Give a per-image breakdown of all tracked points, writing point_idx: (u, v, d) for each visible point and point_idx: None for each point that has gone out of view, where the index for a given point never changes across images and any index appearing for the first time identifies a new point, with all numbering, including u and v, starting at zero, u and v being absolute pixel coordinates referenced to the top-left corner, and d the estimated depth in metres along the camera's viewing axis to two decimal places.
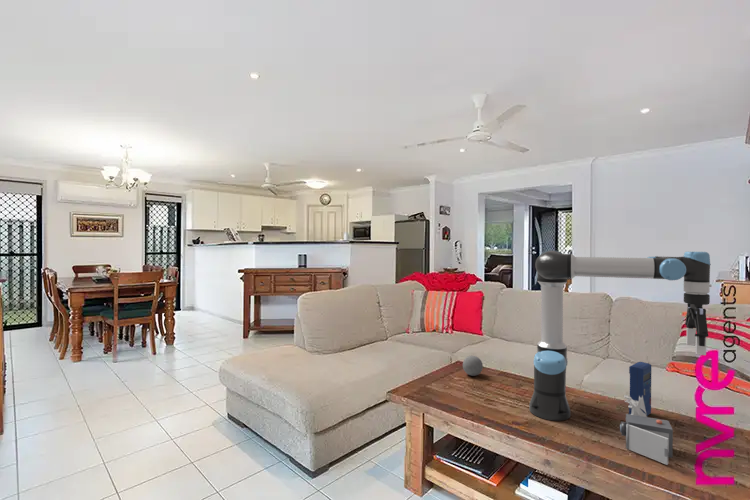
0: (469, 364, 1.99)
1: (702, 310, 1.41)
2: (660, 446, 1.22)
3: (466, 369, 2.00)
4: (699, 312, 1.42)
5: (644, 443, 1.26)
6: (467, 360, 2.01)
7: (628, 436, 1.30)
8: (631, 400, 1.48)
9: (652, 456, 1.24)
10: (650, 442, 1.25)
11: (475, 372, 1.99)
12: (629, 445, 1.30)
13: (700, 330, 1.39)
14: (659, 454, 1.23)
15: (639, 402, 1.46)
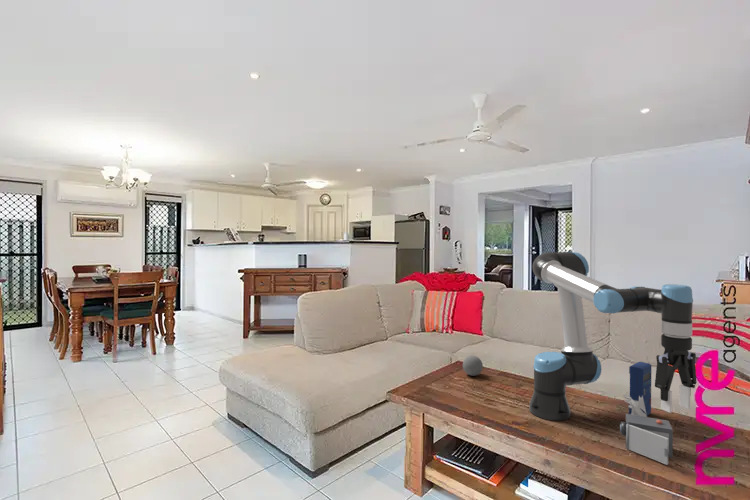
0: (469, 364, 1.99)
1: None
2: (660, 446, 1.22)
3: (466, 369, 2.00)
4: None
5: (644, 443, 1.26)
6: (467, 360, 2.01)
7: (628, 436, 1.30)
8: (631, 400, 1.48)
9: (652, 456, 1.24)
10: (650, 442, 1.25)
11: (475, 372, 1.99)
12: (629, 445, 1.30)
13: None
14: (659, 454, 1.23)
15: (639, 402, 1.46)
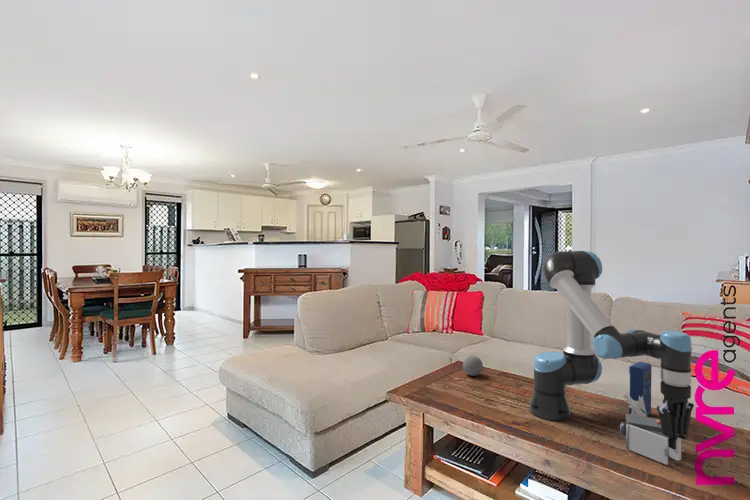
0: (469, 364, 1.99)
1: None
2: (660, 446, 1.22)
3: (466, 369, 2.00)
4: None
5: (644, 443, 1.26)
6: (467, 360, 2.01)
7: (628, 436, 1.30)
8: (631, 400, 1.48)
9: (652, 456, 1.24)
10: (650, 442, 1.25)
11: (475, 372, 1.99)
12: (629, 445, 1.30)
13: None
14: (659, 454, 1.23)
15: (639, 402, 1.46)
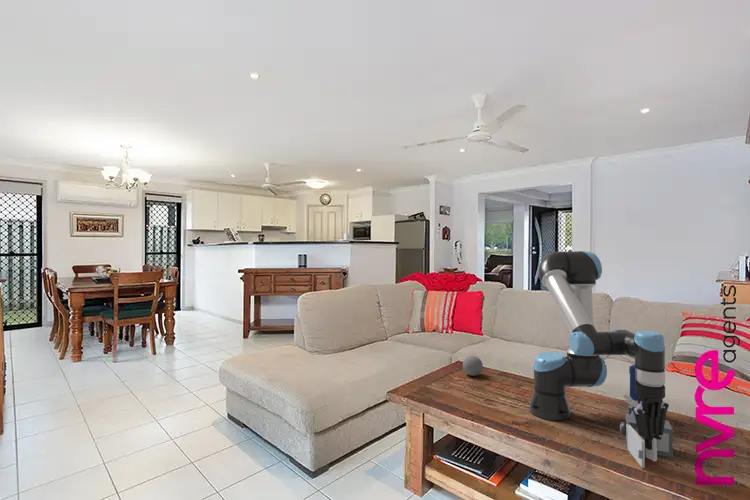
0: (469, 364, 1.99)
1: None
2: (639, 448, 1.21)
3: (466, 369, 2.00)
4: None
5: (633, 444, 1.26)
6: (467, 360, 2.01)
7: (626, 435, 1.30)
8: (631, 400, 1.48)
9: (636, 457, 1.24)
10: (635, 443, 1.24)
11: (475, 372, 1.99)
12: (627, 445, 1.30)
13: None
14: None
15: None
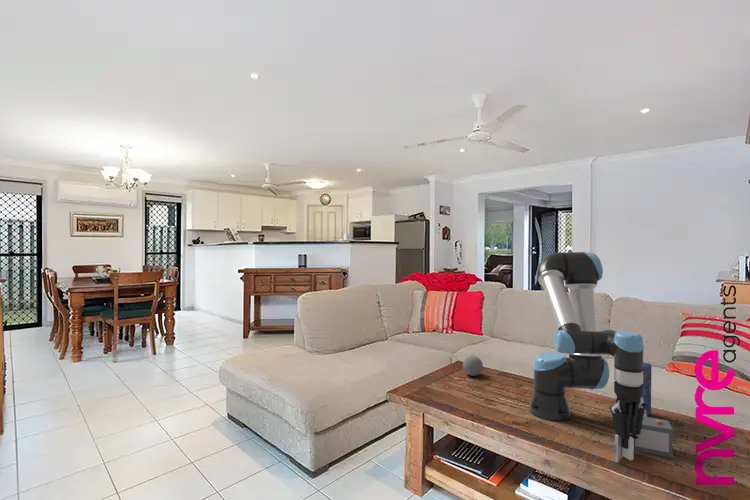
0: (469, 364, 1.99)
1: None
2: None
3: (466, 369, 2.00)
4: None
5: None
6: (467, 360, 2.01)
7: None
8: None
9: None
10: None
11: (475, 372, 1.99)
12: None
13: None
14: None
15: None
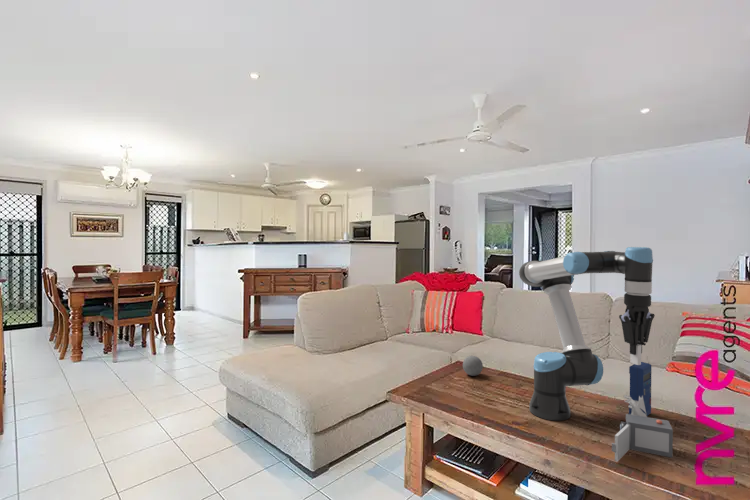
0: (469, 364, 1.99)
1: None
2: None
3: (466, 369, 2.00)
4: None
5: None
6: (467, 360, 2.01)
7: None
8: (631, 400, 1.48)
9: None
10: None
11: (475, 372, 1.99)
12: None
13: None
14: None
15: (639, 402, 1.46)
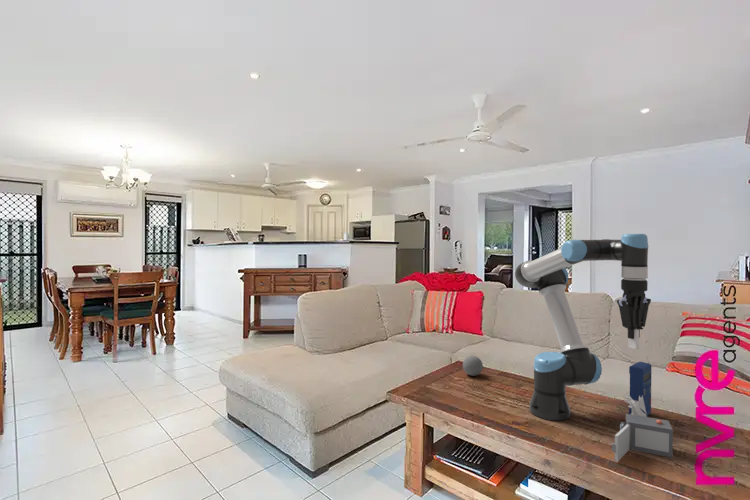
0: (469, 364, 1.99)
1: None
2: None
3: (466, 369, 2.00)
4: None
5: None
6: (467, 360, 2.01)
7: None
8: (631, 400, 1.48)
9: None
10: None
11: (475, 372, 1.99)
12: None
13: None
14: None
15: (639, 402, 1.46)
